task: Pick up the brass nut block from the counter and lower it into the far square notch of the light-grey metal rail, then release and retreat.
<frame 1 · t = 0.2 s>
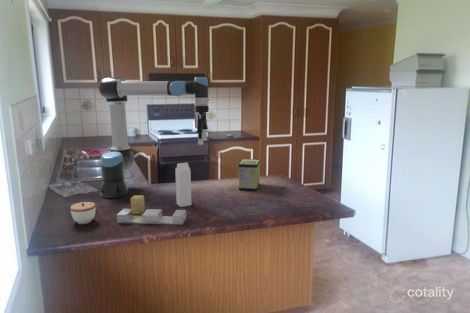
hand: (202, 142, 218), 28 cm above the countertop, fingers open, 13 cm apart
nut block: (138, 212, 186), on the countertop
rail: (152, 220, 175), on the countertop
milk: (184, 204, 197), on the countertop
protein box: (249, 187, 228), on the countertop
lidded jar: (84, 221, 175), on the countertop
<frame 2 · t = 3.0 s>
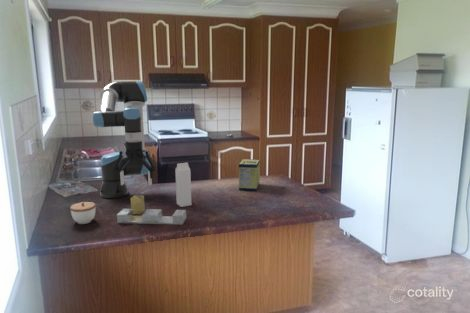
hand: (136, 184, 183), 14 cm above the countertop, fingers open, 13 cm apart
nothing on the countertop moved.
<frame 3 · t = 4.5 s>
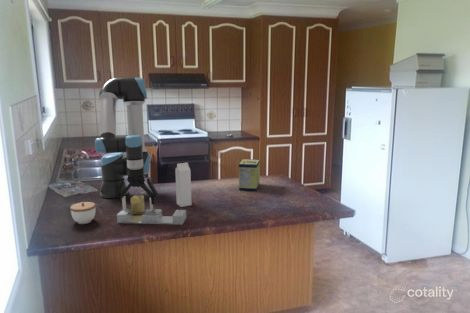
hand: (138, 210, 186), 1 cm above the countertop, fingers open, 13 cm apart
nothing on the countertop moved.
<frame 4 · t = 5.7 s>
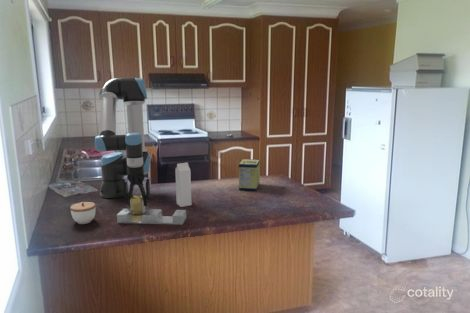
hand: (138, 211, 186), 0 cm above the countertop, fingers closed on nut block, 5 cm apart
nut block: (138, 212, 186), on the countertop, touching gripper
everything else where it was.
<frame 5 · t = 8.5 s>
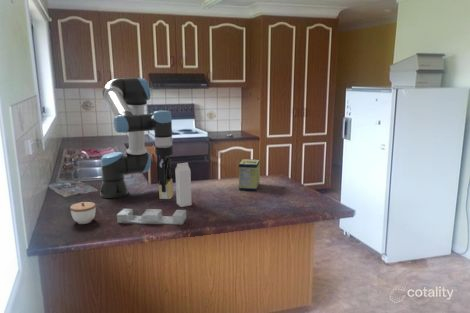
hand: (166, 196, 172), 12 cm above the countertop, fingers closed on nut block, 5 cm apart
nut block: (166, 197, 173), point 11 cm above the countertop, touching gripper
everything else where it was.
when the fingers open (2 cm above the countertop, at t = 10.8 s): nut block stays where it is, resting on rail.
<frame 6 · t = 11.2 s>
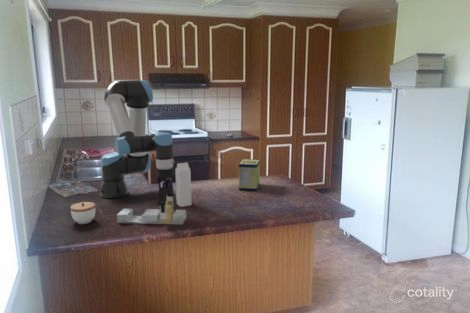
hand: (167, 214, 174), 3 cm above the countertop, fingers open, 11 cm apart
nut block: (167, 219, 175), point 1 cm above the countertop, touching rail
everything else where it was.
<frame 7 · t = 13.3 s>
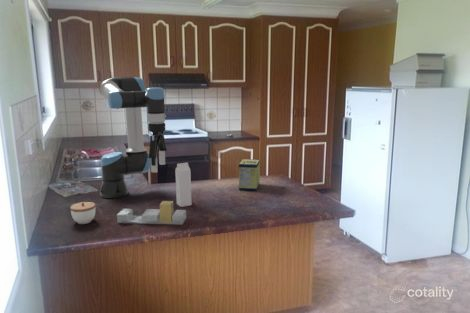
hand: (158, 168, 176), 23 cm above the countertop, fingers open, 13 cm apart
nothing on the countertop moved.
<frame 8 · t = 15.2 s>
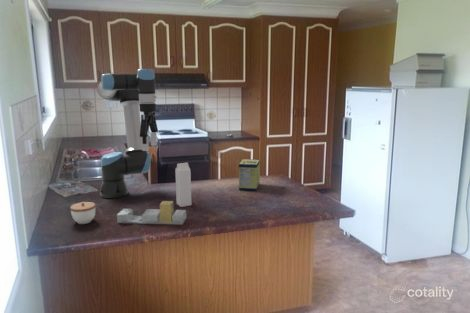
hand: (150, 148, 181), 32 cm above the countertop, fingers open, 13 cm apart
nothing on the countertop moved.
at the end: nut block 0.1 cm from the target spot on the rail, point 0.7 cm above the rail's base; nut block tilted 0°; the gripper is holding nothing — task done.
